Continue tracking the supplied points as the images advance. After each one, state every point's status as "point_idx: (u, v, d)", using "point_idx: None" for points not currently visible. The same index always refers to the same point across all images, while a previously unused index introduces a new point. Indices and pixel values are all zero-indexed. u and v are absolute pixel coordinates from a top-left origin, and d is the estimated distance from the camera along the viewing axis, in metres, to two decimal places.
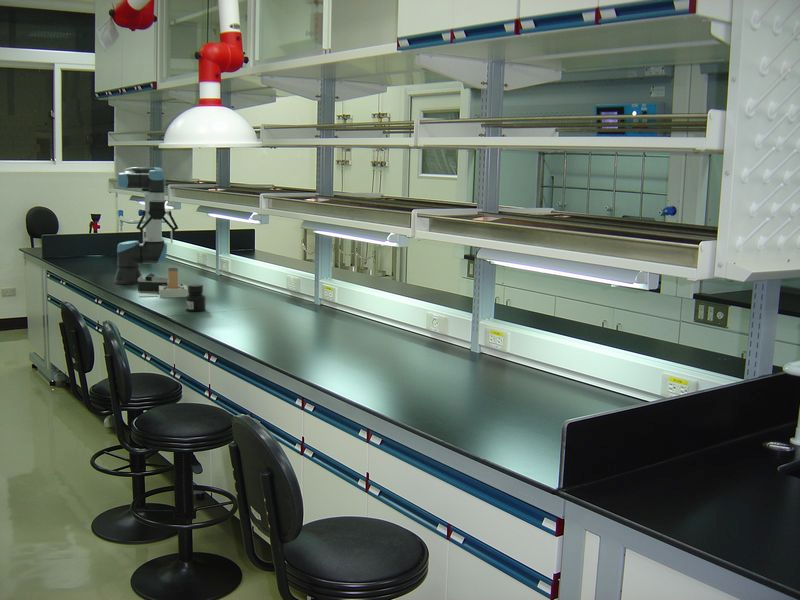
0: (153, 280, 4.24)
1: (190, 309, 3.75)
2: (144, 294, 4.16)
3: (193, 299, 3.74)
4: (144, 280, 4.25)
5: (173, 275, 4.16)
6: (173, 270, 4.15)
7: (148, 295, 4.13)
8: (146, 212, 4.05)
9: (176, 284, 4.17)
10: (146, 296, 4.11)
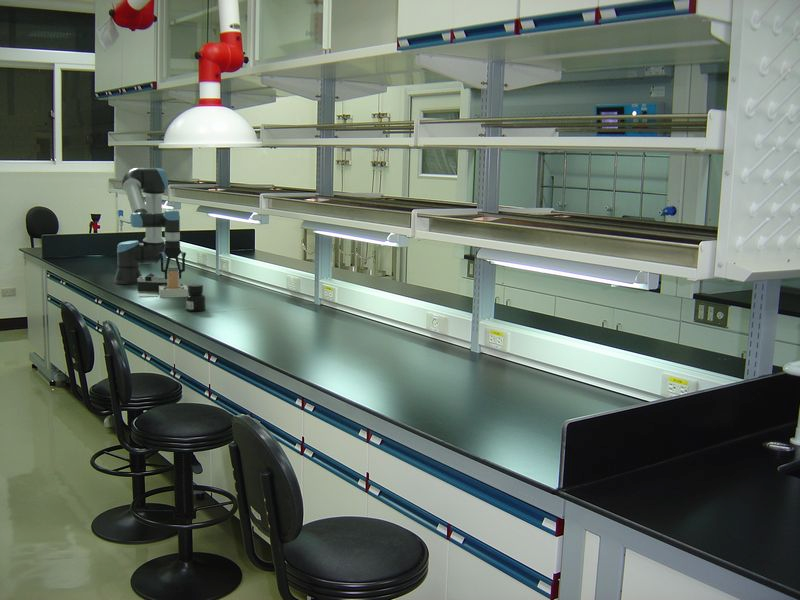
0: (153, 280, 4.24)
1: (190, 309, 3.75)
2: (144, 294, 4.16)
3: (193, 299, 3.74)
4: (144, 280, 4.24)
5: (173, 275, 4.16)
6: (173, 270, 4.15)
7: (148, 295, 4.13)
8: (162, 253, 4.14)
9: (176, 284, 4.17)
10: (146, 296, 4.11)
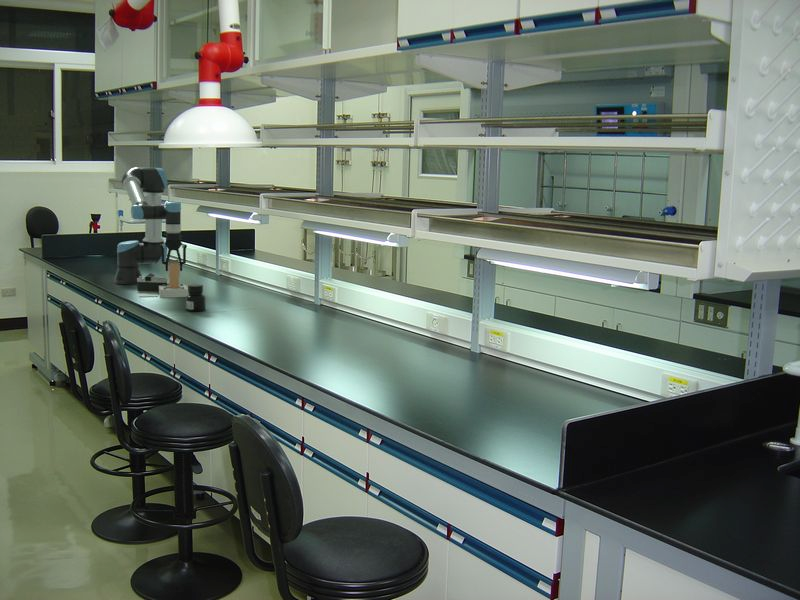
0: (152, 280, 4.24)
1: (190, 309, 3.75)
2: (144, 294, 4.16)
3: (193, 299, 3.74)
4: (143, 280, 4.24)
5: (174, 267, 4.15)
6: (174, 262, 4.15)
7: (148, 295, 4.13)
8: (163, 245, 4.13)
9: (177, 276, 4.16)
10: (146, 296, 4.11)
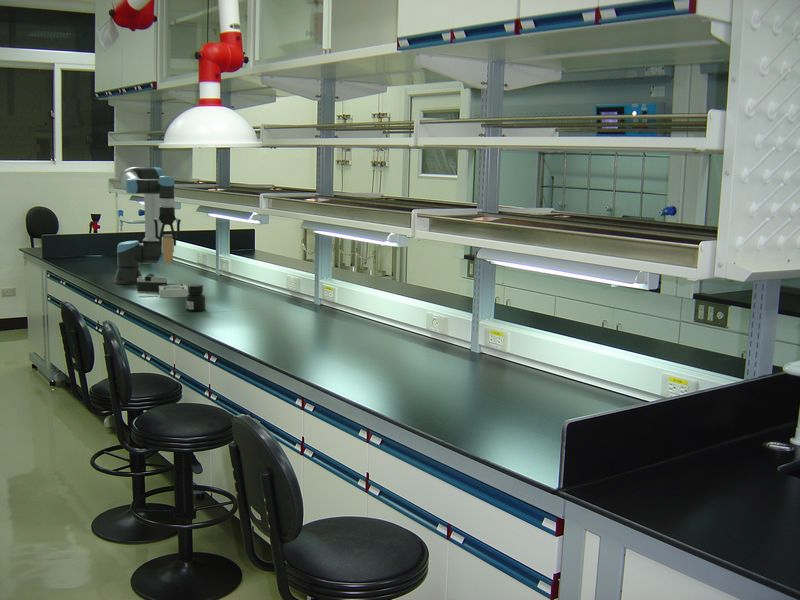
0: (152, 280, 4.24)
1: (190, 309, 3.75)
2: (144, 294, 4.16)
3: (193, 299, 3.74)
4: (143, 280, 4.24)
5: (168, 242, 4.12)
6: (168, 237, 4.12)
7: (148, 295, 4.13)
8: (157, 219, 4.10)
9: (171, 251, 4.13)
10: (146, 296, 4.11)
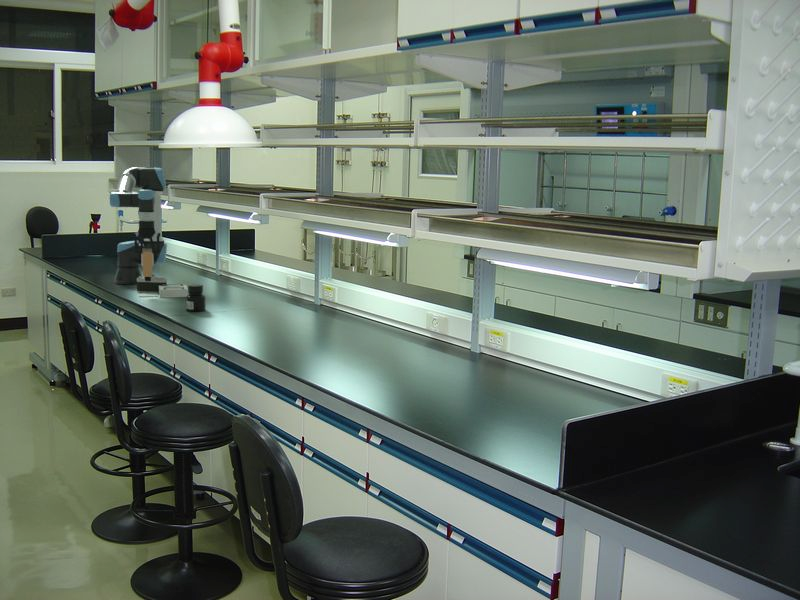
0: (152, 280, 4.24)
1: (190, 309, 3.75)
2: (144, 294, 4.16)
3: (193, 299, 3.74)
4: (143, 280, 4.24)
5: (147, 256, 4.10)
6: (147, 250, 4.09)
7: (148, 295, 4.13)
8: (136, 233, 4.08)
9: (150, 265, 4.11)
10: (146, 296, 4.11)
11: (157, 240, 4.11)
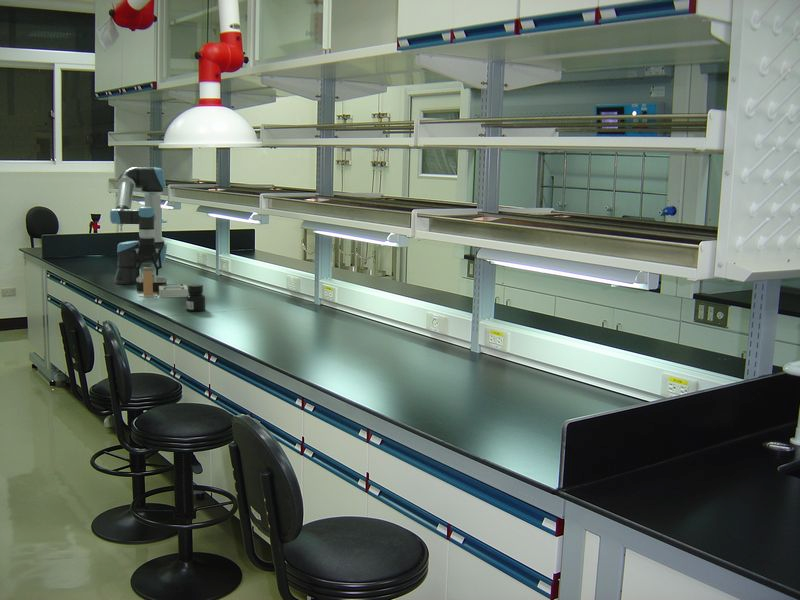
0: None
1: (190, 309, 3.75)
2: None
3: (193, 299, 3.74)
4: None
5: (148, 275, 4.12)
6: (148, 270, 4.11)
7: (148, 295, 4.13)
8: (136, 250, 4.10)
9: (151, 284, 4.13)
10: (146, 296, 4.11)
11: (158, 257, 4.13)
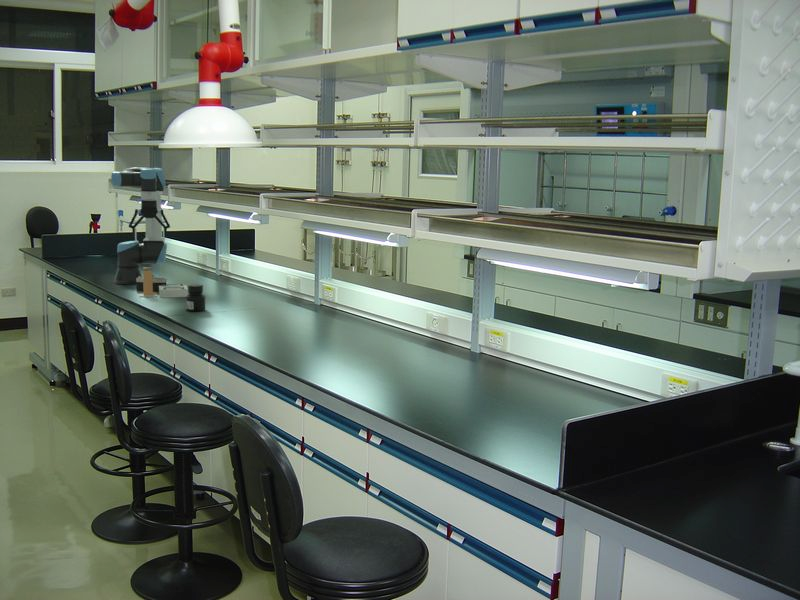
0: None
1: (190, 309, 3.75)
2: None
3: (193, 299, 3.74)
4: None
5: (148, 275, 4.12)
6: (148, 270, 4.11)
7: (148, 295, 4.13)
8: (138, 211, 4.07)
9: (151, 284, 4.13)
10: (146, 296, 4.11)
11: (163, 217, 4.11)
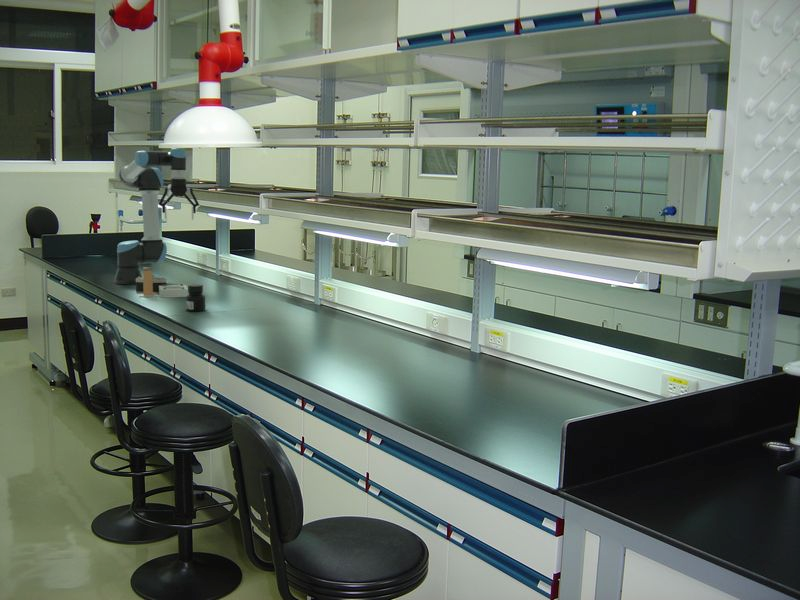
0: None
1: (190, 309, 3.75)
2: None
3: (193, 299, 3.74)
4: (142, 280, 4.23)
5: (148, 275, 4.12)
6: (148, 270, 4.11)
7: (148, 295, 4.13)
8: (168, 189, 4.17)
9: (151, 284, 4.13)
10: (146, 296, 4.11)
11: (192, 195, 4.21)
